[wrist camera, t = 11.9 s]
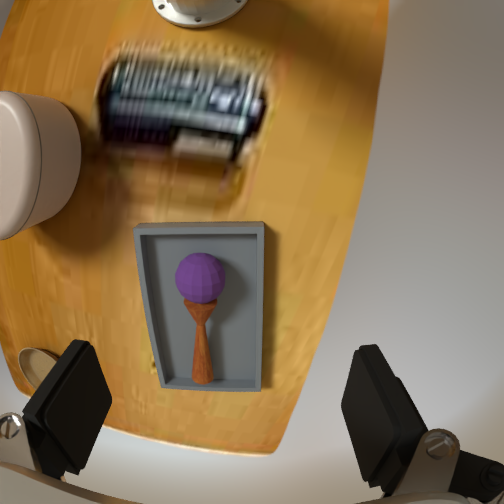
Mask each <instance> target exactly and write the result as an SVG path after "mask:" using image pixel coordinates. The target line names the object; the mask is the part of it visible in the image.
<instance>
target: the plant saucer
mask: <svg viewBox="0 0 504 504" xmlns="http://www.w3.org/2000/svg"><path fill="white" fill-rule="evenodd" d="M57 361H58V358H57V357H56V356H54V355H53V354H51V353H49V352H47V351H45V350H42V349H38V348H24V349H22V350H21V351H20V353H19V355H18V362H19V366H20V369H21V371H22V373H23V375H24V376H25V378H26V379H27V381H28V382H29V383H30V384H31V386H32V387H33V388H34V389H35V390H37V388H38V387H39V386H40V384H41V383H42V381H43V380H44V379H45V377H46V376H47V374H48V373H49V372H50V370H51V369H52V367H53V366H54V365H55V363H56V362H57Z"/></svg>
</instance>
